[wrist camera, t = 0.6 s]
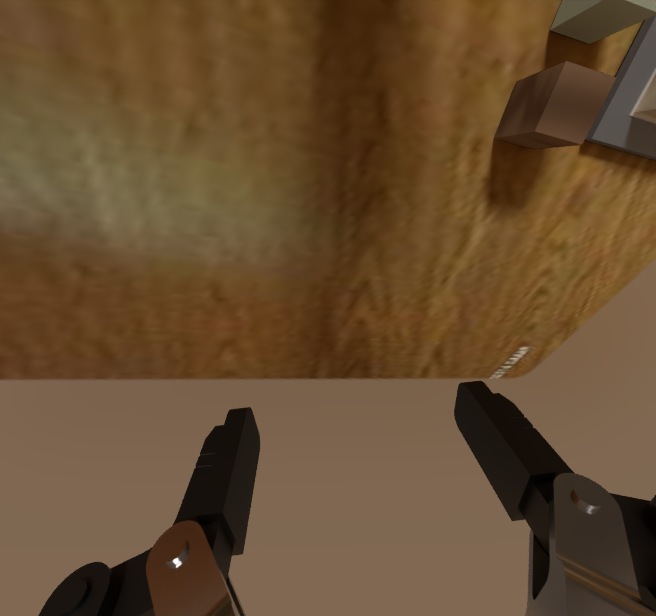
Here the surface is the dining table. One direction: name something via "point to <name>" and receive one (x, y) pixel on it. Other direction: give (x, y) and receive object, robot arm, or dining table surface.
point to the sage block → (599, 17)
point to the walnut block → (554, 106)
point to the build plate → (630, 100)
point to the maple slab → (648, 101)
